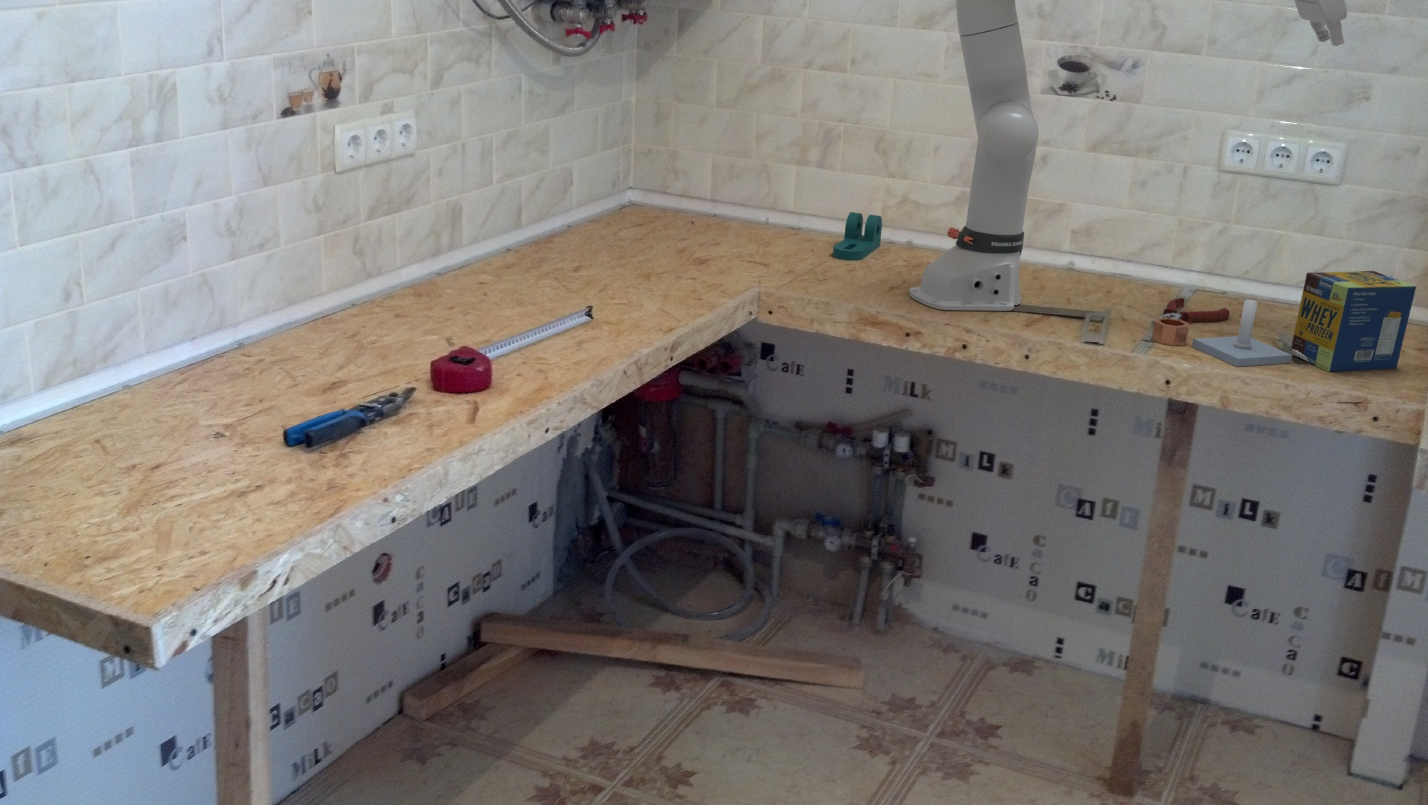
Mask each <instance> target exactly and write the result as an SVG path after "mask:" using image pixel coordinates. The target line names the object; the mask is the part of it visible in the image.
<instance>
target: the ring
mask: <svg viewBox="0 0 1428 805" xmlns="http://www.w3.org/2000/svg"><path fill="white" fill-rule="evenodd" d="M1190 326H1191V325H1190V324H1189V323H1187V322H1185V321H1182V320H1178V319H1172V318H1159V317H1157V318H1155V322H1154V324H1153V328H1152V332H1151V333H1152V334H1151V341H1154V342H1155V343H1158V344H1160V345H1167V346H1172V347H1173V346H1174V347H1175V346H1177V347H1178V346H1185V345H1186V344H1187V341H1188V336H1189V332H1190Z"/></svg>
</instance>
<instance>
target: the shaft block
mask: <svg viewBox="0 0 1428 805" xmlns="http://www.w3.org/2000/svg"><path fill="white" fill-rule="evenodd" d="M1257 307H1258V301H1257V300H1255V299H1245V300H1244V302H1243V307H1242V312H1241V313H1242V314H1241V317H1240V323H1239V327H1238V333H1237V335H1233V336H1216V337H1201V338H1200V337H1199V338H1193V339H1192V344H1191V347H1192V348H1195V349H1196V350H1199V351H1200V352H1204V353H1205V354H1207V355H1209V356H1211V357H1212V356H1213V357H1214V358H1217V359H1218V360H1221V361H1222V362H1225V363H1227V364H1229V365H1233V366H1234V367H1237V368H1238V367H1241V368H1242V367H1255V366H1266V365H1267V366H1268V365H1270V366H1271V365H1282V364H1284V365H1285V364H1292V361H1293V360H1292V359H1293V355H1291V354H1290V352H1289V353H1288V352H1287V351H1283V350H1281V349H1279V348H1276V347H1274V346H1271V345H1269V344H1267V343H1265V342H1263V341H1260V340H1258V339H1256V338H1255V339H1254V338H1252V334H1253V328H1254V324H1255V317H1256V313H1257Z"/></svg>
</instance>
